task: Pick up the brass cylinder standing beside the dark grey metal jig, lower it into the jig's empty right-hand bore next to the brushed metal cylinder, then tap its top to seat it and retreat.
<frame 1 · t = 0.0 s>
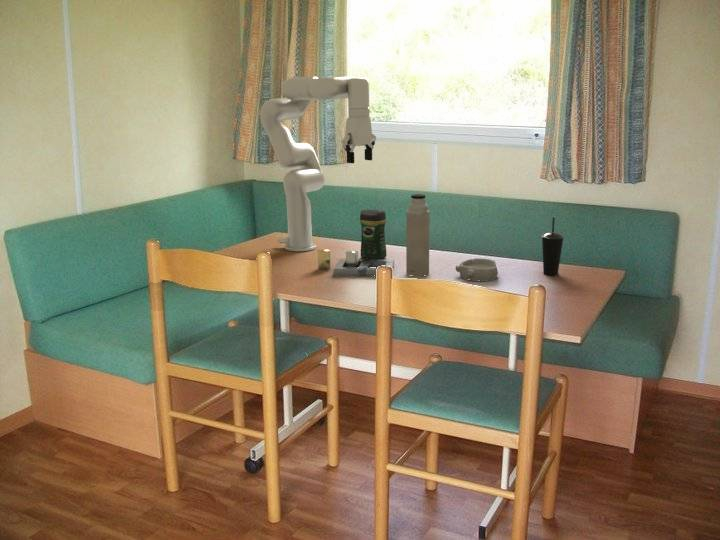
hand: (359, 161, 279), 37 cm above the table, tool pointing down, fingers open, 9 cm apart
brass cylinder: (324, 268, 279), on the table
jig: (364, 271, 276), on the table
brushed metal cylinder: (352, 270, 276), resting in jig
thermos bottle: (417, 274, 271), on the table
coffee jar: (373, 258, 294), on the table
dish: (478, 277, 267), on the table
drinking cup: (550, 274, 268), on the table
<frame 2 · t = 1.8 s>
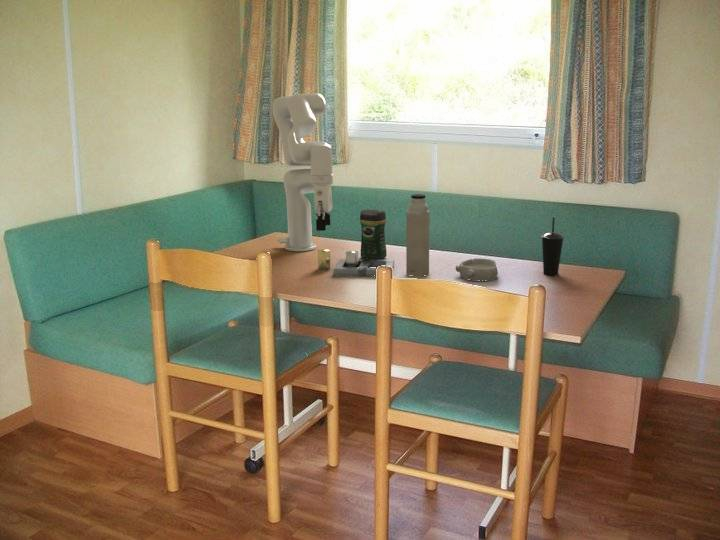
hand: (323, 227, 275), 15 cm above the table, tool pointing down, fingers open, 9 cm apart
nothing on the table moved.
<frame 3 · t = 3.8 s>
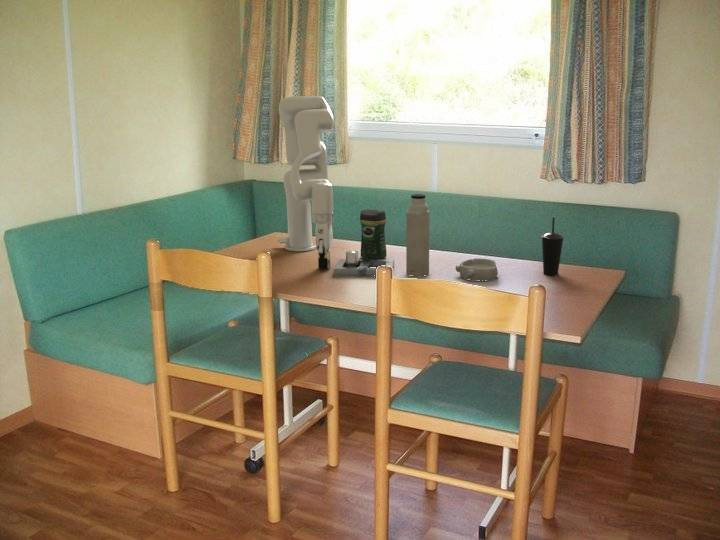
hand: (324, 266, 279), 1 cm above the table, tool pointing down, fingers closed on brass cylinder, 4 cm apart
brass cylinder: (324, 268, 279), on the table, touching gripper
everything else where it was.
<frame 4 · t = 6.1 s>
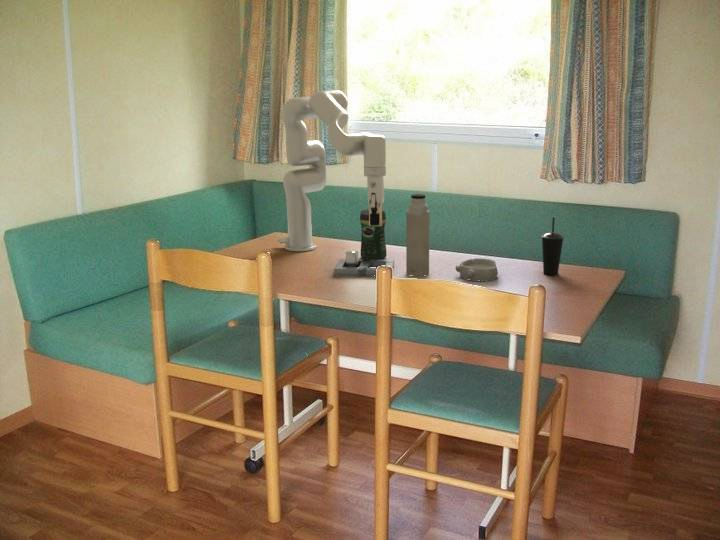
hand: (375, 222, 270), 18 cm above the table, tool pointing down, fingers closed on brass cylinder, 4 cm apart
brass cylinder: (375, 225, 271), point 17 cm above the table, touching gripper
everything else where it was.
when the fingers open (2 cm above the table, at t = 8.5 s): brass cylinder drops 1 cm, resting in jig.
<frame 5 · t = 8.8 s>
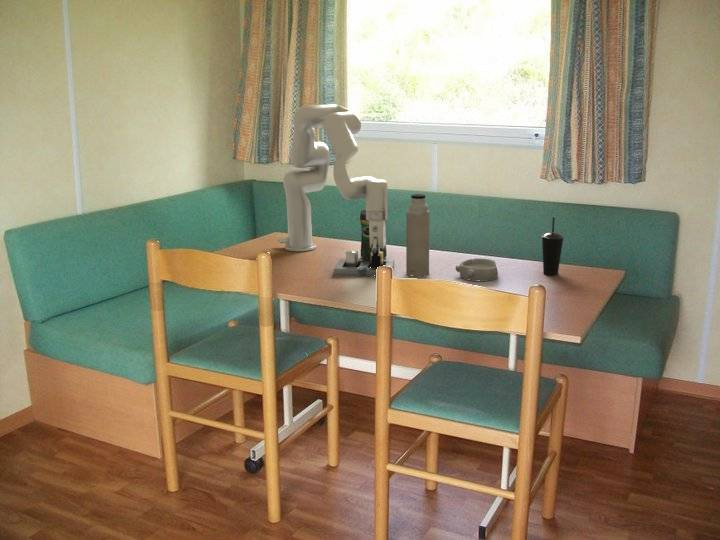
hand: (377, 263, 274), 3 cm above the table, tool pointing down, fingers open, 7 cm apart
brass cylinder: (377, 271, 275), resting in jig
everything else where it was.
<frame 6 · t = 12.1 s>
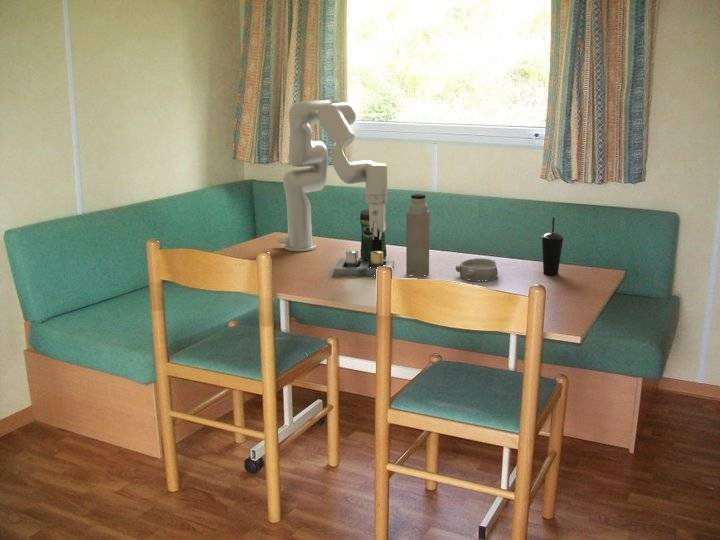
hand: (377, 250, 273), 8 cm above the table, tool pointing down, fingers closed
nothing on the table moved.
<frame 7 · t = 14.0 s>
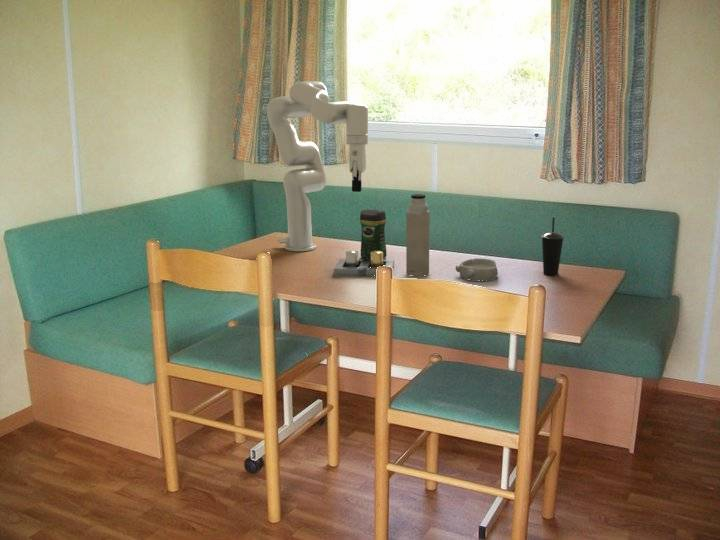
hand: (356, 191, 276), 27 cm above the table, tool pointing down, fingers closed
nothing on the table moved.
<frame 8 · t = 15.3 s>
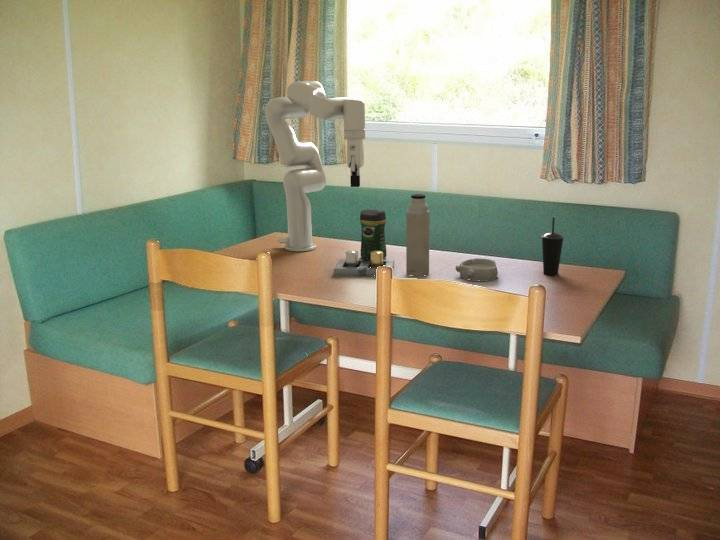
hand: (355, 186, 276), 29 cm above the table, tool pointing down, fingers closed
nothing on the table moved.
at the end: brass cylinder 0.1 cm from the target spot on the jig, point 0.0 cm above the jig's base; brass cylinder tilted 0°; the gripper is holding nothing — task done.
